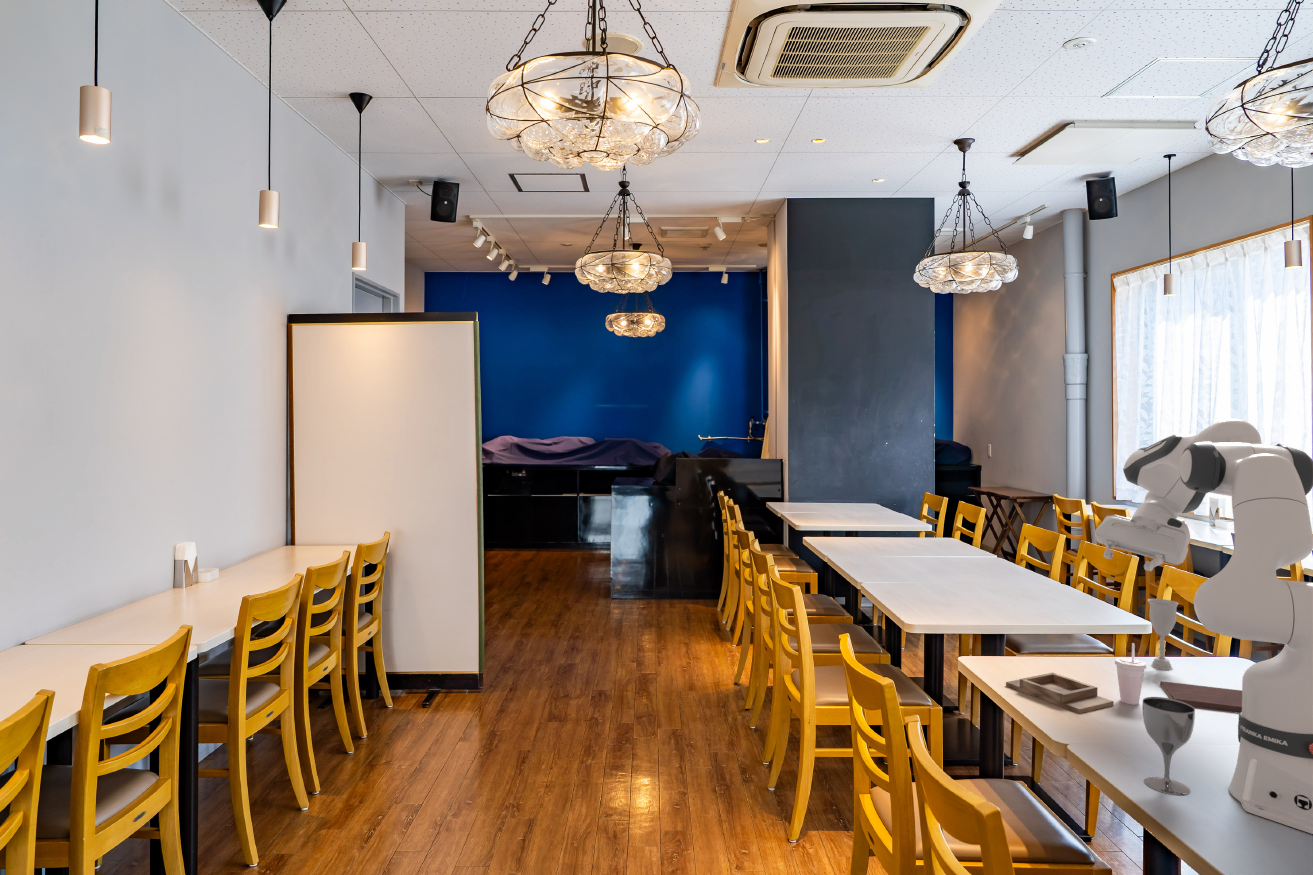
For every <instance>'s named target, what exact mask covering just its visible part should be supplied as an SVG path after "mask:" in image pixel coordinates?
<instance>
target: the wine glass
mask: <svg viewBox="0 0 1313 875" xmlns="http://www.w3.org/2000/svg"><path fill="white" fill-rule="evenodd" d="M1141 708H1142V719H1143V725H1144V727H1145V730H1146V732H1147V734H1148V736H1149V737H1150V738H1151V740H1152V741H1153V742H1154V743H1155V744H1156V745H1157V747H1158V748H1159V749H1160V752H1161V754H1162V757H1163V764H1164V765H1163V766H1164V772H1163V774H1164V776H1162V777H1161V776H1148V777H1145V778H1144V779H1143V783H1144V784H1145V785H1146V786H1147V787H1148V788H1151V789H1152V790H1154V791H1157V792H1159V793H1163V794H1166V795H1171V796H1187V795H1190V794H1191V789H1190V787H1188V786H1187V785H1185V784H1184V783H1182V782H1180V781H1177V780H1175V779H1172V778H1170V774H1171V773H1170V771H1171V762H1172V757H1173V755H1174V754H1175V753H1176V751H1177V750H1179V749H1180V748H1182V747H1183V746H1185V744H1188V742H1189V741H1190V739H1191V738H1192V734H1193V732H1194V731H1193V730H1194V727H1195V719H1196V715H1195V714H1196V710H1195V707H1193V706H1191V705H1189V704H1187V703H1185V702H1182V701H1178V700H1175V699H1170V697H1169V698H1168V697H1162V696H1148V697H1143V699H1142V707H1141Z"/></svg>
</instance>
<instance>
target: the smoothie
mask: <svg viewBox="0 0 1313 875" xmlns="http://www.w3.org/2000/svg"><path fill="white" fill-rule="evenodd" d="M1135 648H1136V645H1135V643H1133V642H1132V643H1131V657H1116V658H1115V659H1114V664H1115V666H1116V672H1117V680H1118V689H1119V690H1118V691H1119V698H1120V701H1121V702H1122V703H1123V704H1128V705H1139V703H1140V699H1141V693H1142V686H1143V680H1144V675H1145V674H1144V673H1145V670H1146V669H1147V663H1146V662H1145V661H1143V660H1140V659H1137V658H1135V657H1136V656H1135V654H1136V653H1135V652H1136V651H1135Z"/></svg>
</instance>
